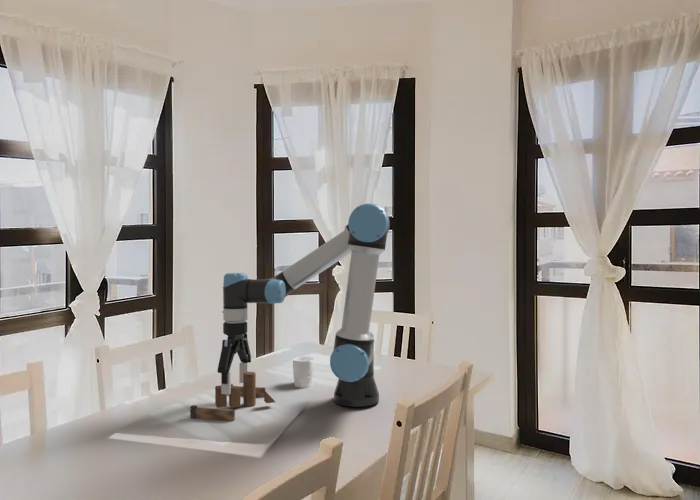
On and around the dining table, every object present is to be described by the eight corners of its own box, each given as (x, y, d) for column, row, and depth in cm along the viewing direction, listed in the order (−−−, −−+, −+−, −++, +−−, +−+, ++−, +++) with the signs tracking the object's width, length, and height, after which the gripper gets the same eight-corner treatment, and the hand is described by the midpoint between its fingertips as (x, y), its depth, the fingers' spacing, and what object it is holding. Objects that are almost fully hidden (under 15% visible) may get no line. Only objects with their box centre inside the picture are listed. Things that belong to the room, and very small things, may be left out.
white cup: (288, 388, 187) (288, 360, 187) (299, 382, 194) (298, 356, 194) (308, 390, 184) (308, 362, 184) (317, 384, 191) (317, 357, 191)
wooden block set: (217, 415, 156) (217, 381, 156) (213, 407, 164) (213, 374, 164) (275, 407, 163) (275, 375, 163) (268, 400, 171) (268, 369, 171)
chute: (265, 396, 176) (265, 385, 176) (233, 421, 150) (233, 409, 150) (228, 394, 179) (228, 384, 179) (190, 418, 153) (190, 406, 153)
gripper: (240, 316, 177) (240, 378, 177) (205, 326, 153) (205, 398, 153) (260, 316, 176) (260, 379, 176) (229, 327, 151) (229, 399, 151)
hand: (235, 388), depth 164 cm, fingers open, 13 cm apart
